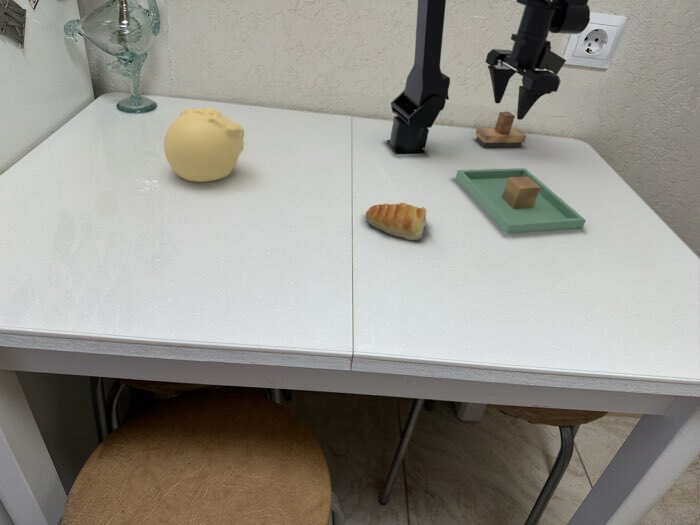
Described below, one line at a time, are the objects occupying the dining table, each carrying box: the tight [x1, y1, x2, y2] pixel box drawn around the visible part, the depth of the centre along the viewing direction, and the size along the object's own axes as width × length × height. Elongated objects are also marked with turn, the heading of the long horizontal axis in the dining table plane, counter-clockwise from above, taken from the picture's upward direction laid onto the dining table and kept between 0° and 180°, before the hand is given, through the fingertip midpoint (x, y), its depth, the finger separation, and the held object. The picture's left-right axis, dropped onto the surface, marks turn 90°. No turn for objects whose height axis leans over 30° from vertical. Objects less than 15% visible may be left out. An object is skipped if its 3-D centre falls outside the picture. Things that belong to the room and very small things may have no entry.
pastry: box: [365, 202, 427, 241], centre depth 76 cm, size 9×7×4 cm
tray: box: [455, 167, 586, 234], centre depth 86 cm, size 15×19×2 cm
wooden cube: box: [502, 177, 541, 209], centre depth 85 cm, size 4×4×4 cm
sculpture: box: [163, 107, 245, 183], centre depth 80 cm, size 12×12×11 cm
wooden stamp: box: [474, 111, 528, 149], centre depth 107 cm, size 10×4×7 cm, turn 106°
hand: (508, 111), depth 104 cm, fingers open, 9 cm apart
